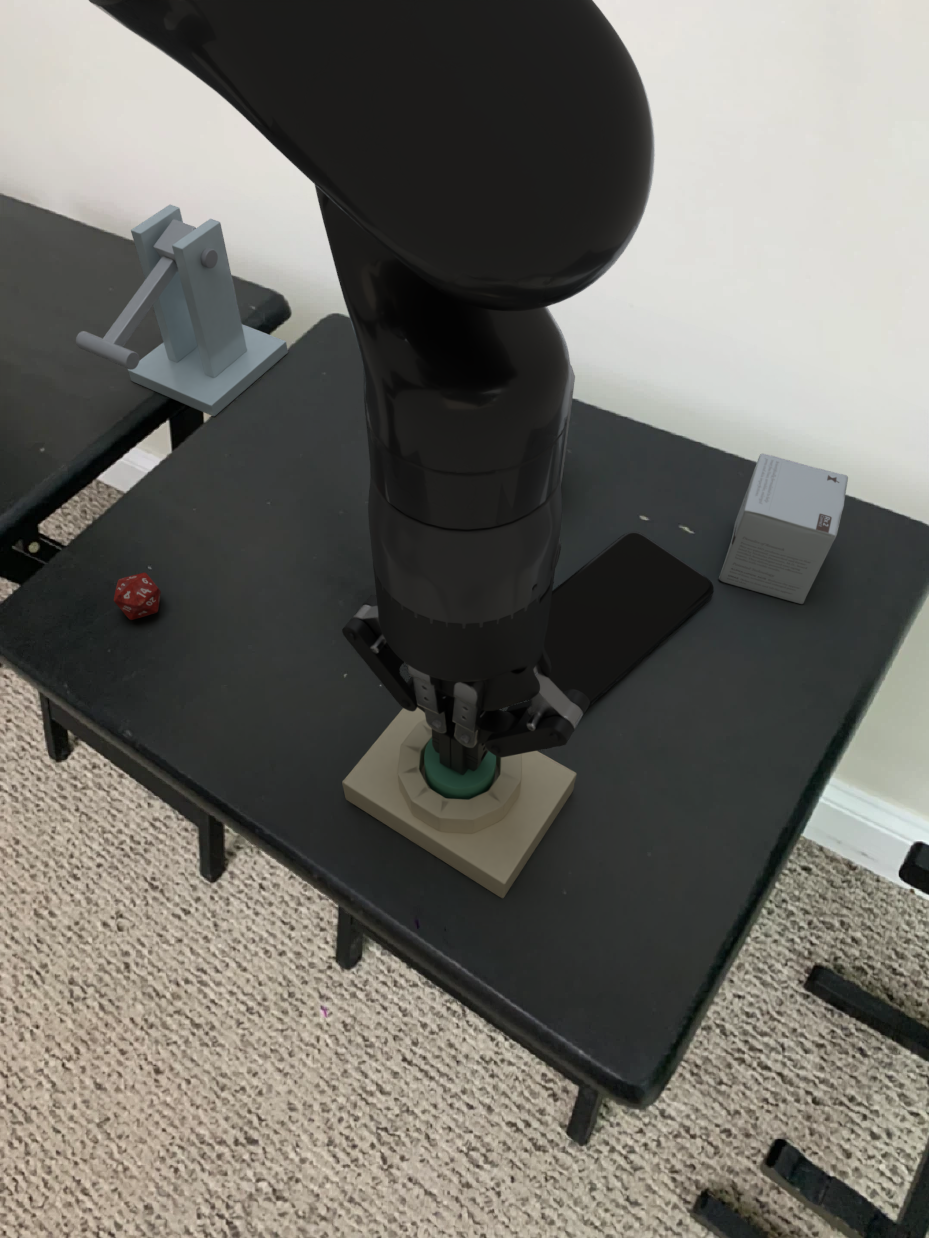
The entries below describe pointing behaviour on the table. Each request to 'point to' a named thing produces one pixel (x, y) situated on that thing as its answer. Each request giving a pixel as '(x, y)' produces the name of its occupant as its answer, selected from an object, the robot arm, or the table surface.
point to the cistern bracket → (199, 322)
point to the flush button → (458, 776)
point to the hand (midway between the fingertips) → (461, 757)
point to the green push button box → (460, 804)
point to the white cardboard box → (784, 528)
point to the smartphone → (618, 612)
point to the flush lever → (138, 303)
